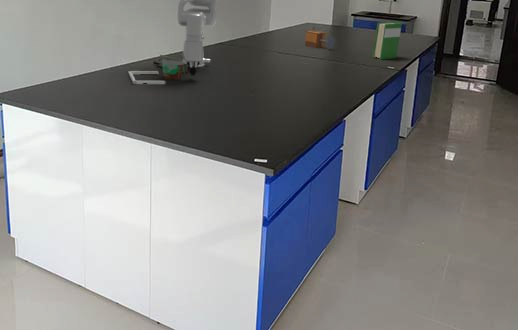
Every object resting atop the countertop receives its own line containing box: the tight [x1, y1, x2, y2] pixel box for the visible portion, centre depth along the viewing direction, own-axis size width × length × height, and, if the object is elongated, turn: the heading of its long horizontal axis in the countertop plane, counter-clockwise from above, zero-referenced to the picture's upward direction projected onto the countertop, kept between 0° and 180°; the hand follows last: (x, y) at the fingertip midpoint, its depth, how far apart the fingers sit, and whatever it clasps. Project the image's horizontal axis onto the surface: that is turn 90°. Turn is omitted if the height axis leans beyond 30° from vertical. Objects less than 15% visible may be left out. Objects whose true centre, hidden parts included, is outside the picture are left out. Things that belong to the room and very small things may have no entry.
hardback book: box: [371, 21, 403, 60], centre depth 395 cm, size 18×7×24 cm, turn 130°
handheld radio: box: [152, 54, 189, 73], centre depth 311 cm, size 7×3×25 cm
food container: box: [161, 57, 183, 81], centre depth 286 cm, size 12×6×10 cm, turn 62°
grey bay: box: [128, 70, 166, 85], centre depth 284 cm, size 15×22×2 cm
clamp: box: [304, 26, 336, 50], centre depth 417 cm, size 11×20×14 cm, turn 46°
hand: (192, 74), depth 291 cm, fingers closed
